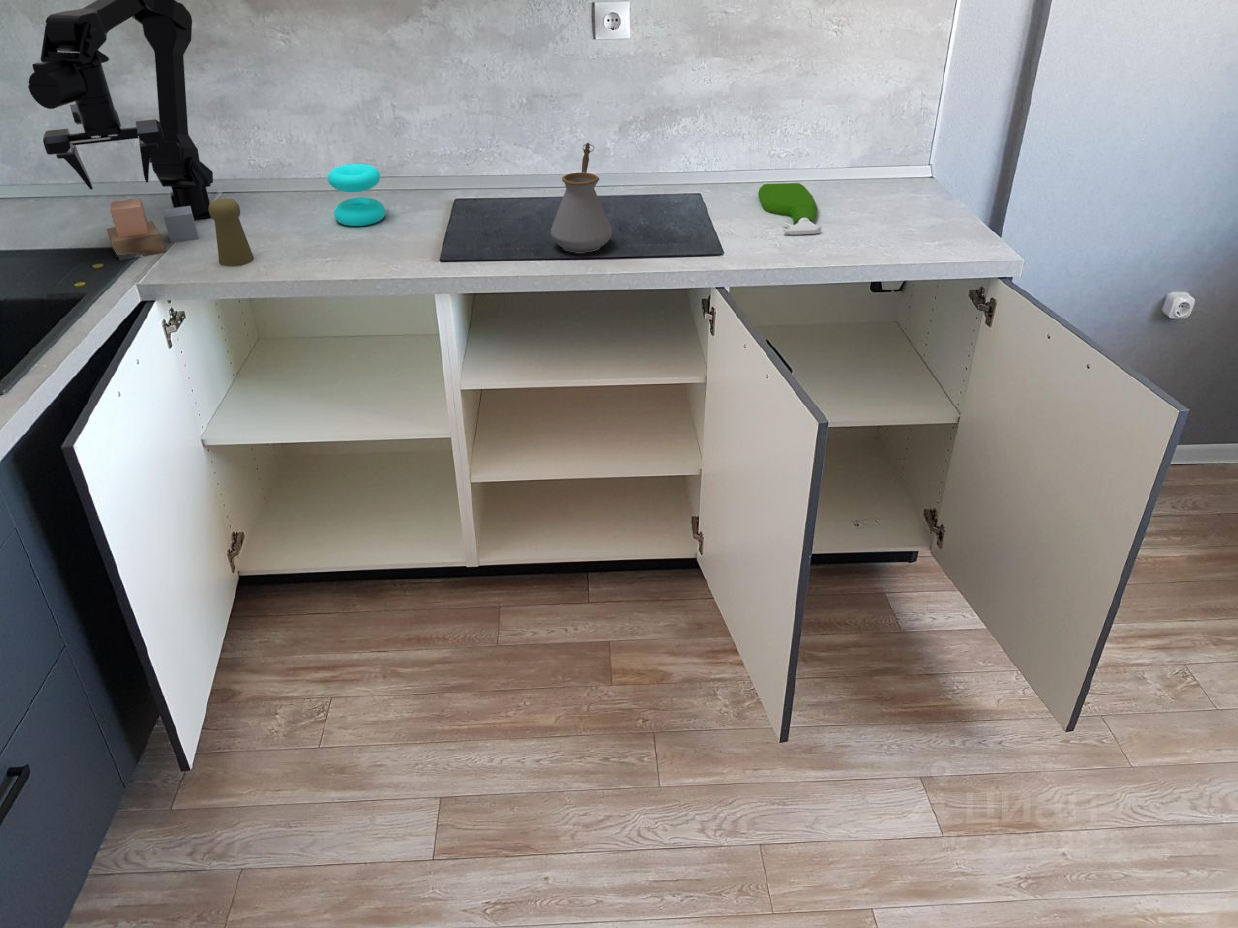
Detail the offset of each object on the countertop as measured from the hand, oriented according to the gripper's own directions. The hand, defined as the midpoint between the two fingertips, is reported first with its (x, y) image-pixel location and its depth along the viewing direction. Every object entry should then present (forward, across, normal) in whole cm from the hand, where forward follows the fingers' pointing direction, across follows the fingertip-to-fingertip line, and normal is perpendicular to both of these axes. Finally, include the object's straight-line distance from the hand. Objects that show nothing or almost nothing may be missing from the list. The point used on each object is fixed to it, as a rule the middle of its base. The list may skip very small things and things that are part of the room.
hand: (119, 185), depth 170 cm
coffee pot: (+12, -78, +30) cm, 84 cm away
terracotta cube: (+8, 0, +1) cm, 8 cm away
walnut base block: (+12, 0, +1) cm, 12 cm away
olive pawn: (+12, -16, +14) cm, 24 cm away
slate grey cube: (+12, -8, -3) cm, 15 cm away
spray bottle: (+13, -121, +37) cm, 127 cm away
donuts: (+12, -41, +2) cm, 43 cm away
